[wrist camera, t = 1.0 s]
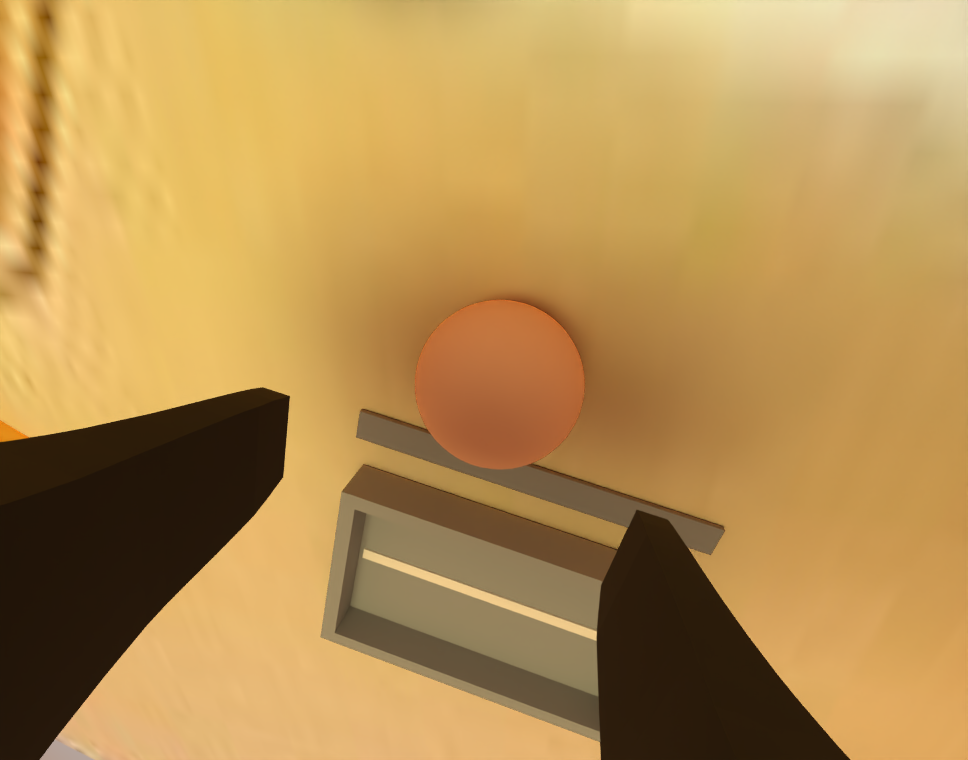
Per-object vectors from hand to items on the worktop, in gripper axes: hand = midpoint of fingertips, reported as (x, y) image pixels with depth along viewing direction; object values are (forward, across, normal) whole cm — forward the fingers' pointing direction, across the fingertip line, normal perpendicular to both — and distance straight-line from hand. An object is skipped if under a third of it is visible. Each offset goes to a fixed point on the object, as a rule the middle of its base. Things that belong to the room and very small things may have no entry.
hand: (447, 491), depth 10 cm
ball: (+6, 0, 0) cm, 6 cm away
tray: (+8, -2, +10) cm, 13 cm away
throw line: (+8, -2, +4) cm, 9 cm away
